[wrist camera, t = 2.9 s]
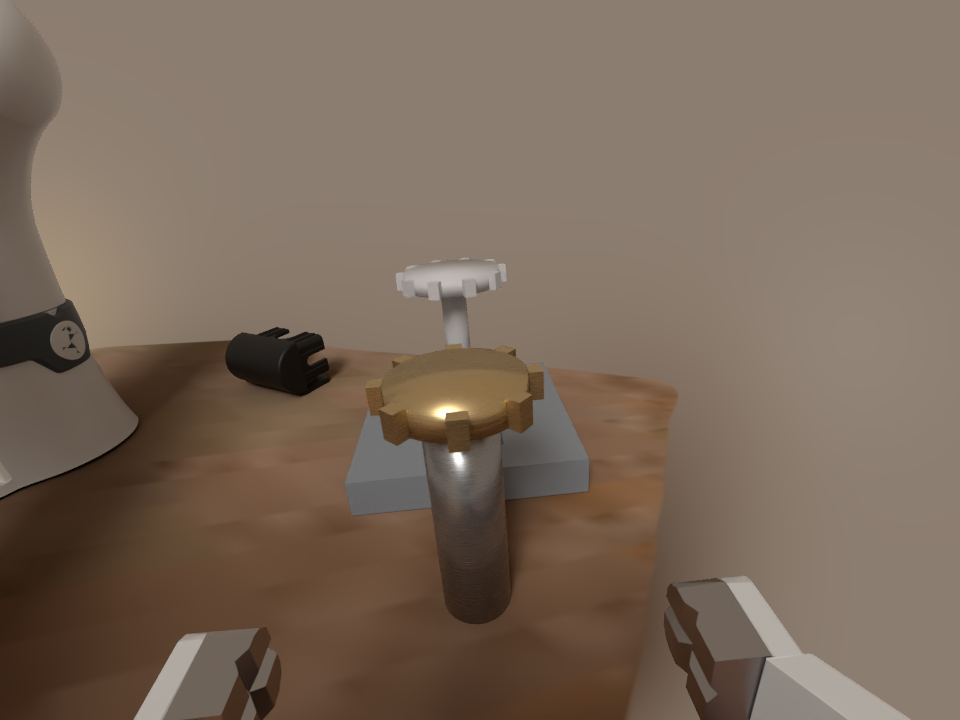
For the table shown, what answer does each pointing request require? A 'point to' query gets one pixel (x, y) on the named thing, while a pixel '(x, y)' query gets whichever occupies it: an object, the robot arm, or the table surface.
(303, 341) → the end cap
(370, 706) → the table surface
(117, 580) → the table surface
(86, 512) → the table surface
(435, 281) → the gear board
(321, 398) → the table surface
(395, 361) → the gear axle
